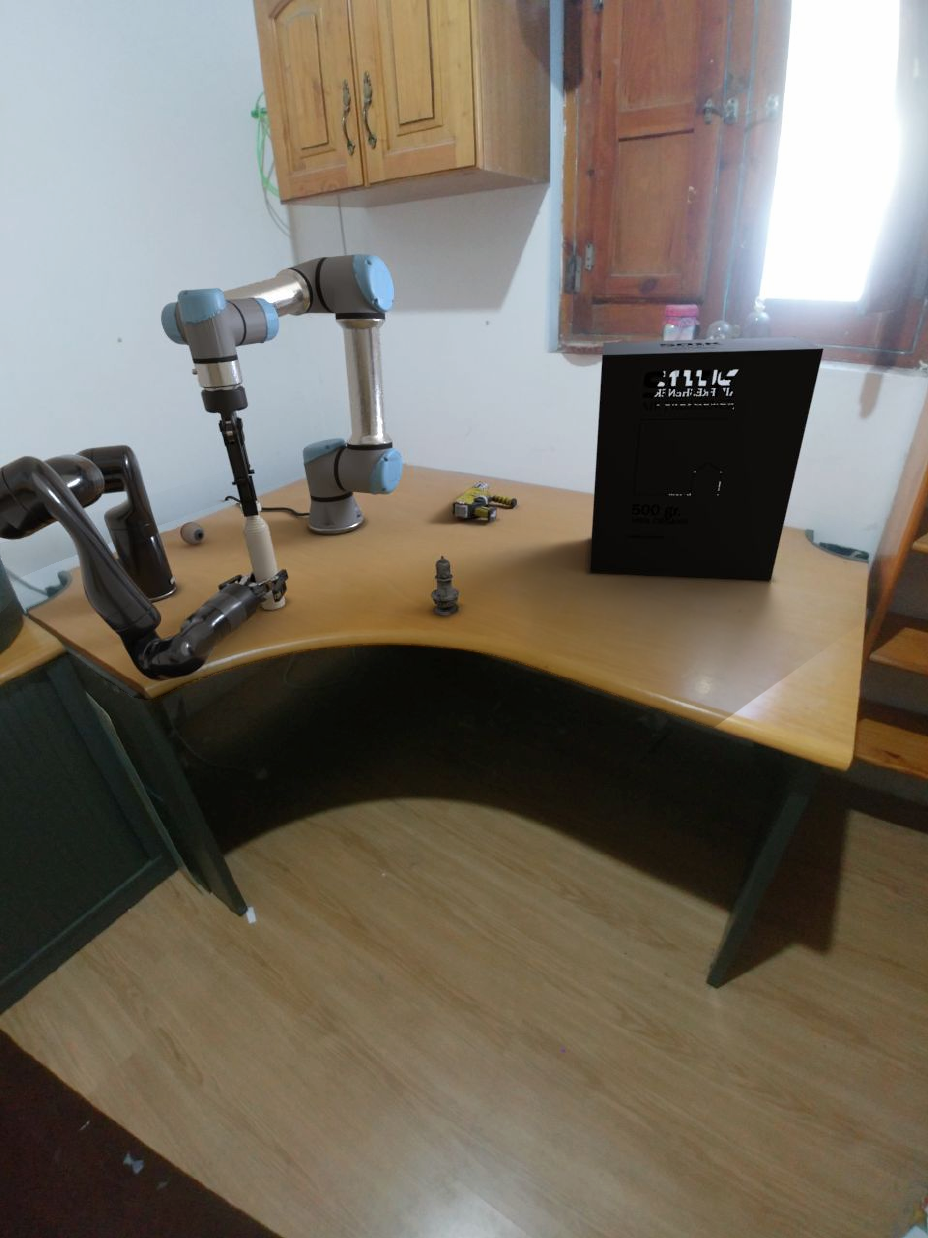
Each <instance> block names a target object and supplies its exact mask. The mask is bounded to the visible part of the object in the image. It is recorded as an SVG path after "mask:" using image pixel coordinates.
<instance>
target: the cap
mask: <svg viewBox="0 0 928 1238" xmlns="http://www.w3.org/2000/svg"><path fill="white" fill-rule="evenodd" d="M256 504H257V509H258V512H259V513H261V512H262V510H261V507H262V506H261V502H260V501H259V500H258V501H256ZM239 508H240V512H241V514H242V515H244V514H243V510H242V506H241V503H239Z"/></svg>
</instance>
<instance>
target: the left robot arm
mask: <svg viewBox="0 0 928 1238" xmlns="http://www.w3.org/2000/svg"><path fill="white" fill-rule="evenodd" d="M137 457H138V456H137V455H136V453H135V450H133V449H132V447H131V446H129V445H127V444H114V445H105V446H96V447H88V448H83V449H82V450H80V451H78V452H76V453H74V454H61V455H58V456H53V457H49V458H47V459H44V460H42V459H40V458H38V457H37V456H32V455H23V456H21V457H19V458H17V459H15V460H12V461H10V462H8V463H6V464H5V465H3V466H1V467H0V539H3V540H11V541H14V540H15V541H16V540H22V539H24V538H28V537H30V536H32V535H35V533H37V532H39V531H42V530H43V529H45V528H47V527H49V526H50V525H52V524H54V523H56V522H58V523H59V524H60V525H61V526H62V527H63V529H64V530H65V531H66V532H67V534H68V535H69V537H70V539H71V541H72V543H73V544H74V547H75V549H76V553H77V558H78V561H79V567H80V574H81V580H82V586H83V590H84V591H83V592H84V594H85V597H86V599H87V601H88V603H89V605H90V607H91V608H92V609H93V610H94V611H95V613H96V614H97V615H98V616H99V617H100V618H101V619H102V620H103V622H104V623H106V625H108V626H109V628H110V629H111V630H112V631H113V632H114V633H115V634H116V635H117V636H118V637H119V639H120V640H121V642H122V645H123V647H124V649H125V651H126V652H127V655H128V656H129V658H130V660H131V662H132V663H133V666H135V668H136V669H137V671H138V672H139V673H141V675H143V676H144V677H146V678H147V679H148V680H151V681H154V682H165V681H170V680H174V679H178V678H179V679H180V678H183V677H187V676H191V675H192V674H194V673H196V672H197V671H199V670H200V669H201V668H202V667H204V665H205V664H206V663H207V661H208V660H209V658H210V656H211V655H212V653H213V652H214V650H215V648H216V647H218V645H219V644H221V643H222V642H223V641H224V640H226V638H227V637H228V636H230V635H231V634H233V633H235V632H236V631H238V630H239V629H240V627H242V626H243V625H244V624H245V623H246V622H247V621H249V620H250V619H251V618H252V617H253V616H254V615H255V614H256V612H257V611H258V608H259V606H260V605H261V603H262V602H264V601H266V600H267V599H274V602H279V601H280V600H281V599H282V597H283V596H284V597H285V594H286V592H287V591H288V587H287V583H286V581H288V579H289V574H288V571H287V569H285V568H282V569H281V570H279V572H278V573H277V574H276V575H275V576H274V577H272V578H270V579H263V580H261V581H259V582H257V583H256V580H255V576H254V572H253V571H252V572H251V573H247V574H245V575H244V576H243V575H242V574H237V575H235V576H233V577H231V578H229V579H228V580H226V581H224V582H222V583H220V584H218V585H217V587H218V591H217V592H216V593H215V594H214V595H213V596H211V597H210V598H209V599H207V600H206V601H205V602H204V603H203V604H202V606H201V607H200V608H198V609H196V611H194V612H193V613H192V614H190V615H189V616H188V617H187V618H185V620H183V622H182V623H181V624H180V625H181V626H180V628H179V632H178V633H176V634H174V635H171V636H167V637H164V638H163V637H161V636H160V635H159V634H158V632H157V630H156V629H158V627H159V626H160V625H161V622H162V614H161V613H160V611H159V609H158V607H156V606H155V604H154V603H153V602H158V601H161V600H165V599H167V598H168V597H171V596H172V595H174V594H176V592H177V591H178V586H177V585H178V584H177V583H176V577H175V575H174V574H173V572H172V569H171V565H170V563H169V559H168V557H167V553H166V549H165V546H164V544H163V540H162V539H161V538H162V537H161V535H160V531H159V528H158V525H157V523H156V520H155V517H154V514H153V510H152V507H151V506H152V505H151V503H150V498H149V496H148V493H147V489H146V486H145V481H144V478H143V474H142V469H141V466H140V463H139V460H138V458H137ZM116 493H126V499H124V501H122V502H121V503H119V504H117V505H114V506H112V507H110V508H109V509H108V510H106V511H105V513H103V519H104V523H105V526H106V528H107V531H108V533H109V536H110V538H111V541H112V544H113V548H114V549H115V552H116V555H117V557H116V556H115V554H114V553H113V551H112V550H111V548H110V547H109V545H108V543H107V542H106V541H105V539H104V537H103V536H102V534H101V533H100V531H99V529H98V528H97V526H96V525H95V523H94V522H93V520H92V519H91V517H90V516H89V515H88V513H87V511H86V510H85V509H86V508H89V507H90V506H93V505H94V504H95V503H96V502H98V501H99V500H100V499H101V498H102V496H103V495H107V494H116ZM273 582H274V585H275V586H273V587H272V585H271V584H272V583H273ZM264 584H265V586H264ZM265 588H266V589H265Z"/></svg>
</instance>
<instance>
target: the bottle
mask: <svg viewBox="0 0 928 1238" xmlns="http://www.w3.org/2000/svg"><path fill="white" fill-rule="evenodd" d="M258 513H259V515H256V516H248V517H245V518H244V523H243V526H242V533H243V536H244V539H245V544H246V548H247V553H248V555H249V561H250V564H251V568H252V572H254V576H255V580H256V583H257V582H259V581H261V580H263V579H270V578H272V577H274V576H275V575H276V574H277V573H278V572H280V570H279V567H278V563H277V558H276V554H275V550H274V544H273V541H272V537H271V536H272V535H271V532H270V531H271V530H270V527H269V525H268V522H266V520H265V519H264V518H263V516H261V514H260V512H258ZM271 585H272V587H273V586H275V585H274V582H273V583H272V584H271ZM264 586H265V584H264ZM265 589H266V588H265ZM286 602H287V601H286V598H285V595H284V596H283V597H282V599H281V600H280V601H279V602H274V599H267V600H266V601H264V602H262V603H260V605H261V607H262V609H263V610H268V611H274V610H278V609H280V608H282V607H284V606H285V605H286Z"/></svg>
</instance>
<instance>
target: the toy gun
mask: <svg viewBox="0 0 928 1238" xmlns="http://www.w3.org/2000/svg"><path fill="white" fill-rule="evenodd" d="M489 485H490V484H489V482H487V481H484V482H483V481H482V480H480V481H478V483H476V484H475V485H474V486H473V485H472V486H471V487H470V488H469V489H468V490H466V491H465V492H464V493H463V494H462V495H460V497H458V498H457V499H456V500H454V502H453V503H452V504H451V515H452V516H453V517H456V518H457V519H460V520H463V519H471V518H476V517H481V518H484V519H487V522H488V523H490V522H492V521H494V520H496V519H497V515H498V514H497V513H498V506H495V505H494V506H492V507H491V506H490V505H489V504H490V503H492V502H493V503H495V504H496V503H498V504H501V505H505V506H509V507H512V508H515V507H516V506H517V505H518V499H517V498H516V497H509V496H504V495H499V494H497V493H496V494H494V495H491V493H490V492H489V490H487V489H488V488H489Z"/></svg>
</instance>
